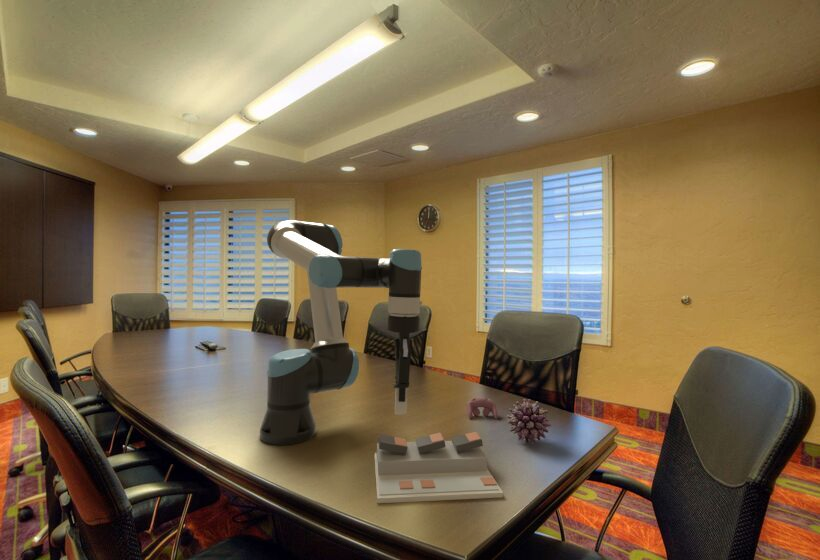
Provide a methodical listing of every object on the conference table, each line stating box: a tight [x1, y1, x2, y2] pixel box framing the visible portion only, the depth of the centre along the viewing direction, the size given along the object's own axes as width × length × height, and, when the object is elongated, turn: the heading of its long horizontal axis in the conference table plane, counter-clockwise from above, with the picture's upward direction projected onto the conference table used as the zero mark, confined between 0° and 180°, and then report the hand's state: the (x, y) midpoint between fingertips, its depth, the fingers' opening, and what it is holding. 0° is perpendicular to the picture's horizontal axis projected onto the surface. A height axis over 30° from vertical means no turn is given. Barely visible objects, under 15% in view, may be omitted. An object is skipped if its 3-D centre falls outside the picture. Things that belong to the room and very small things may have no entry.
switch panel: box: [374, 440, 504, 504], centre depth 89 cm, size 26×20×4 cm
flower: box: [507, 398, 552, 445], centre depth 108 cm, size 12×12×12 cm
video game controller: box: [466, 397, 499, 420], centre depth 128 cm, size 10×5×7 cm, turn 93°
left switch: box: [377, 433, 408, 454], centre depth 91 cm, size 6×5×2 cm
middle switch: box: [414, 432, 446, 454], centre depth 92 cm, size 6×5×2 cm
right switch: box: [450, 431, 484, 452], centre depth 94 cm, size 6×5×2 cm
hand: (400, 413), depth 92 cm, fingers closed
